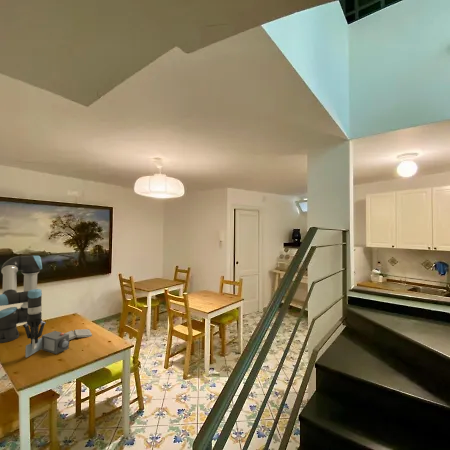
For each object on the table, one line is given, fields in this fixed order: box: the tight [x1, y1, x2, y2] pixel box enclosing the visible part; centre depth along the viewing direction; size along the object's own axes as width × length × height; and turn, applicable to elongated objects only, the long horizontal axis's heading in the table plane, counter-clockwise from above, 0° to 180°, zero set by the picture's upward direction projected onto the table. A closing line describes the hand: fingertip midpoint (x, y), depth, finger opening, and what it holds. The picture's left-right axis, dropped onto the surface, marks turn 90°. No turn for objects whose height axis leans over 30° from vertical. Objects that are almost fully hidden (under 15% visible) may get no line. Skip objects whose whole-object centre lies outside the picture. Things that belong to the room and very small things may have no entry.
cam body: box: [41, 330, 70, 355], centre depth 177 cm, size 19×9×11 cm, turn 66°
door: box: [24, 336, 43, 358], centre depth 169 cm, size 13×2×8 cm, turn 176°
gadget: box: [64, 328, 93, 341], centre depth 199 cm, size 23×15×4 cm, turn 127°
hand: (34, 348), depth 166 cm, fingers closed
